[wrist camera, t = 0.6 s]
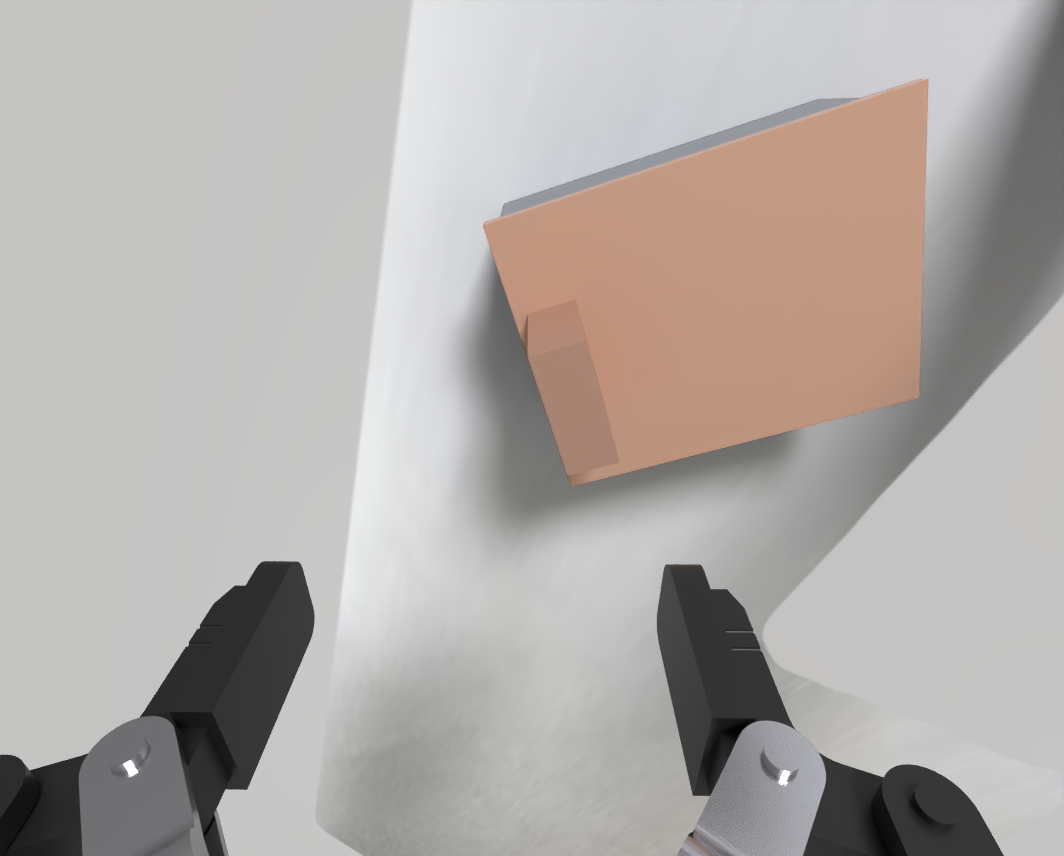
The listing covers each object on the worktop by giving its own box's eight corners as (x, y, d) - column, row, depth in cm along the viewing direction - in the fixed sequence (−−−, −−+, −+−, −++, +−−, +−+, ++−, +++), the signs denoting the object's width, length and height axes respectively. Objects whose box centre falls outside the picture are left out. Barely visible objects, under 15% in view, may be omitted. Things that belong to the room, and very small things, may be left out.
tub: (819, 98, 31) (903, 97, 24) (831, 333, 38) (900, 385, 31) (504, 203, 33) (497, 229, 26) (567, 406, 40) (576, 469, 33)
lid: (896, 81, 25) (1034, 72, 18) (894, 379, 32) (993, 453, 25) (486, 216, 28) (472, 253, 21) (568, 464, 35) (578, 552, 28)
